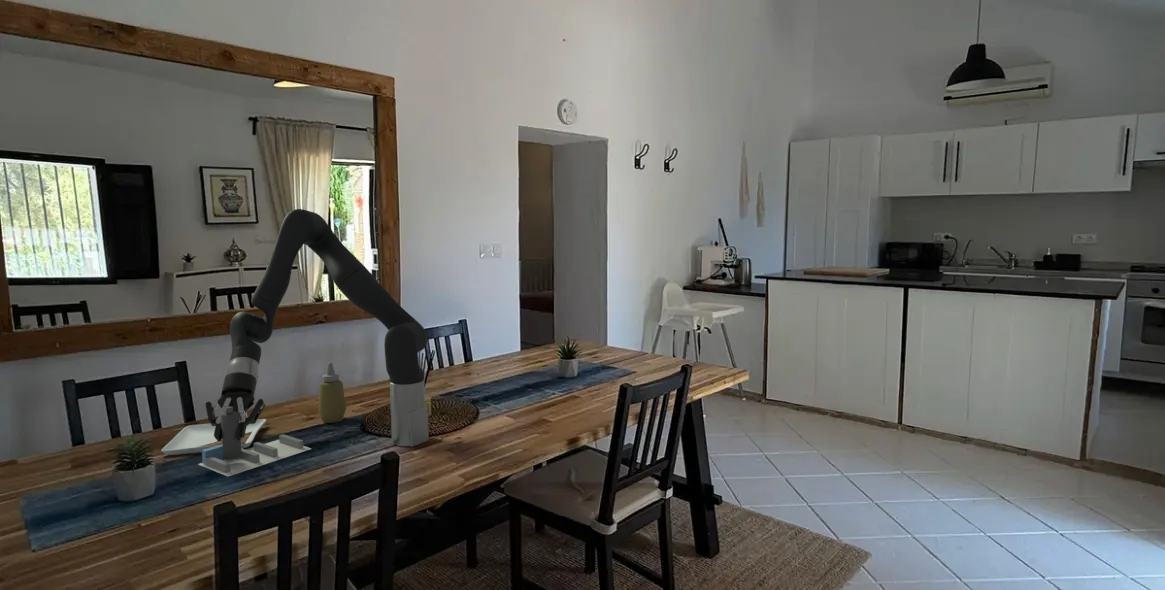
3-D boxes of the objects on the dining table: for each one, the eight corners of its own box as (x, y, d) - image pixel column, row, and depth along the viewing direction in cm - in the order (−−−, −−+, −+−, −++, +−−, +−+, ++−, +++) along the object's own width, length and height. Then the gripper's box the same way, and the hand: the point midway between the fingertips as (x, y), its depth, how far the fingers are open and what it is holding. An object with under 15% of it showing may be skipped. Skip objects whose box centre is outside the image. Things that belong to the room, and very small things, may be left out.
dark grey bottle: (244, 455, 159) (241, 406, 157) (228, 460, 156) (225, 410, 154) (236, 452, 161) (233, 404, 160) (220, 457, 158) (216, 408, 156)
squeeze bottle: (328, 426, 190) (325, 367, 188) (313, 421, 195) (310, 363, 193) (352, 419, 197) (349, 362, 194) (337, 415, 201) (334, 359, 199)
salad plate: (160, 462, 163) (159, 449, 162) (187, 435, 183) (186, 424, 183) (251, 454, 168) (250, 442, 168) (267, 429, 189) (267, 418, 188)
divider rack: (311, 452, 169) (311, 435, 168) (228, 480, 151) (227, 462, 150) (281, 442, 176) (280, 426, 176) (198, 468, 158) (196, 450, 158)
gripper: (206, 372, 162) (191, 434, 151) (267, 369, 165) (256, 430, 154) (215, 387, 167) (201, 448, 157) (273, 384, 170) (263, 444, 160)
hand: (228, 438), depth 156 cm, fingers closed on dark grey bottle, 4 cm apart
